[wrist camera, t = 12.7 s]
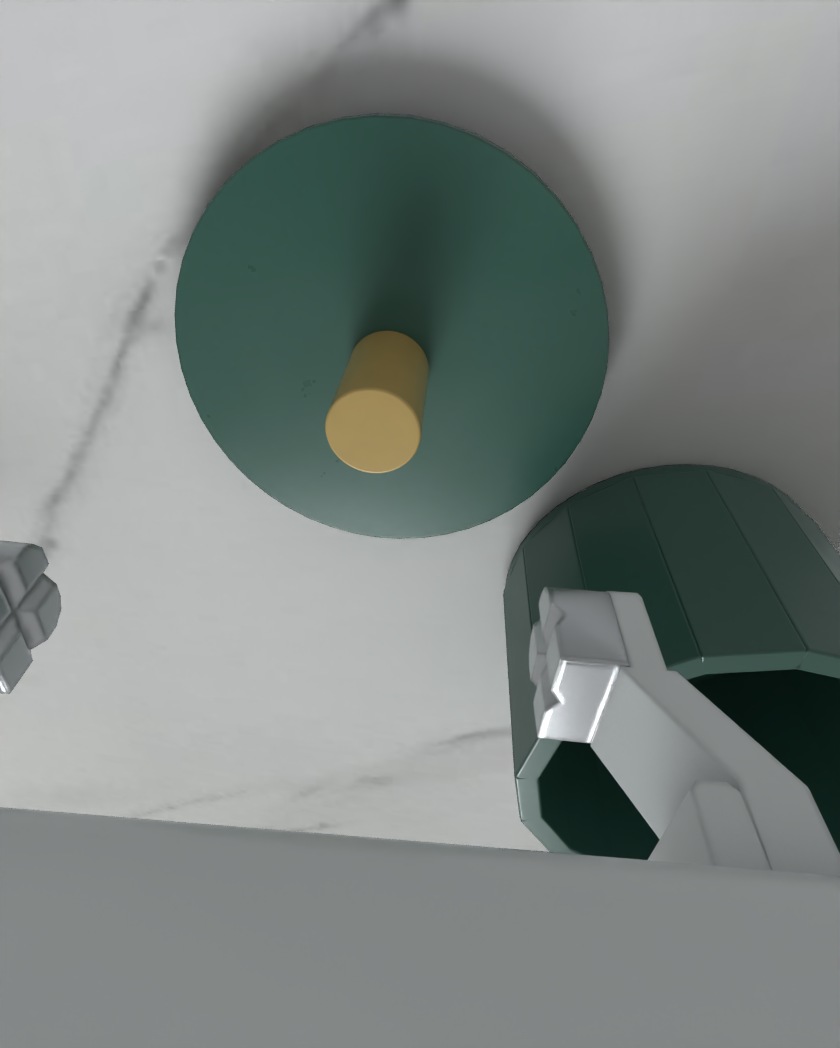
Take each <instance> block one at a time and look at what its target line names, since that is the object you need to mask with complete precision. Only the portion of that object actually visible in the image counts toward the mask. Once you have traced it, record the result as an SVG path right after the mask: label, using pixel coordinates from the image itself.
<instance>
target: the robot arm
mask: <svg viewBox="0 0 840 1048" xmlns="http://www.w3.org/2000/svg"><path fill="white" fill-rule="evenodd" d="M48 564H49V563H48V560H47V558H46V556H45V553H44V551H43V549H42V547H39V546H37V545H34V544H29V543H19V542H10V541H0V693H1V694H10V693H11V691H12V690H13V688H14V687H15V686H16V684H17V683H18V681H19V680H20V678H21V677H22V676H23V674H24V673H25V671H26V670H27V668H28V667H29V666H30V664H31V663H32V661H33V660H32V655H31V649H32V648H34V647H36V646H38V645H39V644H41V643H43V642H45V641H46V640H48V638H49V637H50V635H51V634H52V632H53V631H54V629H55V628H56V626H57V622H58V619H59V615H60V612H61V596H60V593H59V590H58V587H57V584H56V583H54V582H53V581H52V580H51V579H50V578H49V577H47V576H46V575H45V574H44V571H45V569H46V568H47V566H48ZM538 605H539V612H540V619H539V620H538V621H537V622H535V623H534V624H533V629H532V633H531V638H530V647H529V671H530V680H531V681H532V682H533V683H534V684H535V686H536V687H537V689H536V693H535V697H534V701H533V706H534V714H535V722H536V730H537V738H545V739H554V740H564V741H573V742H582V743H591V748H592V749H593V750H594V752H595V753H596V754H597V756H598V757H599V758H600V760H601V761H602V762H603V764H604V765H605V766H606V768H607V769H608V770H609V772H610V773H611V775H612V776H613V777H614V779H615V780H616V781H617V783H618V784H619V785H620V787H621V788H622V789H623V791H624V792H625V793H626V795H627V796H628V797H629V799H630V800H631V801H632V803H633V804H634V806H635V807H636V808H637V810H638V811H639V812H640V814H641V815H642V816H643V818H644V819H645V820H646V822H647V823H648V824H649V826H650V827H651V828H652V830H653V831H654V832H655V834H656V835H657V837H658V838H659V839H660V840H659V842H658V843H657V845H656V847H655V848H654V850H653V852H652V853H651V855H650V857H649V858H648V860H640V859H628V858H616V857H604V856H592V855H579V854H567V853H555V852H543V851H531V850H518V849H506V848H494V847H482V846H470V845H457V844H445V843H433V842H420V841H408V840H396V839H383V838H371V837H359V836H346V835H334V834H322V833H309V832H297V831H285V830H272V829H260V828H247V827H235V826H223V825H211V824H198V823H186V822H174V821H162V820H150V819H138V818H125V817H113V816H101V815H89V814H77V813H65V812H52V811H40V810H28V809H16V808H4V807H0V1048H840V853H839V851H838V849H837V847H836V845H835V843H834V841H833V839H832V836H831V834H830V832H829V830H828V828H827V826H826V824H825V822H824V820H823V817H822V815H821V813H820V811H819V809H818V807H817V805H816V803H815V801H814V799H813V796H812V794H811V792H810V790H809V788H808V787H807V786H806V785H805V784H804V783H803V782H802V781H801V780H799V779H798V778H797V777H796V776H795V775H794V774H793V773H791V772H790V771H789V770H788V769H787V768H786V767H785V766H783V765H782V764H781V763H780V762H779V761H778V760H777V759H776V758H774V757H773V756H772V755H771V754H770V753H769V752H768V751H766V750H765V749H764V748H763V747H762V746H761V745H760V744H759V743H757V742H756V741H755V740H754V739H753V738H752V737H751V736H749V735H748V734H747V733H746V732H745V731H744V730H743V729H742V728H740V727H739V726H738V725H737V724H736V723H735V722H734V721H732V720H731V719H730V718H729V717H728V716H727V715H726V714H724V713H723V712H722V711H721V710H720V709H719V708H718V707H717V706H715V705H714V704H713V703H712V702H711V701H710V700H709V699H707V698H706V697H705V696H704V695H703V694H702V693H701V692H700V691H698V690H697V689H696V688H695V687H694V686H693V685H692V684H690V683H689V682H688V681H687V680H686V679H685V678H684V677H682V676H681V675H680V674H679V673H678V672H677V671H667V668H666V665H665V663H664V660H663V657H662V654H661V651H660V648H659V645H658V642H657V639H656V637H655V634H654V631H653V628H652V625H651V622H650V619H649V616H648V614H647V611H646V608H645V605H644V602H643V599H642V597H641V596H640V595H639V594H638V593H631V592H616V591H606V592H604V591H595V590H582V589H568V588H555V587H544V589H543V591H542V593H541V597H540V600H539V604H538Z"/></svg>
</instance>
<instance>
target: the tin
mask: <svg viewBox="0 0 840 1048" xmlns="http://www.w3.org/2000/svg"><path fill="white" fill-rule="evenodd" d="M544 587H555V588H568V589H582V590H595V591H604V592H606V591H616V592H631V593H638V594H639V595H640V596H641V597H642V599H643V602H644V605H645V608H646V611H647V614H648V616H649V619H650V622H651V625H652V628H653V631H654V634H655V637H656V639H657V642H658V645H659V648H660V651H661V654H662V657H663V660H664V663H665V665H666V668H667V671H677V672H678V673H679V674H680V675H681V676H682V677H684V678H685V679H686V680H687V681H688V682H689V683H690V684H692V685H693V686H694V687H695V688H696V689H697V690H698V691H700V692H701V693H702V694H703V695H704V696H705V697H706V698H707V699H709V700H710V701H711V702H712V703H713V704H714V705H715V706H717V707H718V708H719V709H720V710H721V711H722V712H723V713H724V714H726V715H727V716H728V717H729V718H730V719H731V720H732V721H734V722H735V723H736V724H737V725H738V726H739V727H740V728H742V729H743V730H744V731H745V732H746V733H747V734H748V735H749V736H751V737H752V738H753V739H754V740H755V741H756V742H757V743H759V744H760V745H761V746H762V747H763V748H764V749H765V750H766V751H768V752H769V753H770V754H771V755H772V756H773V757H774V758H776V759H777V760H778V761H779V762H780V763H781V764H782V765H783V766H785V767H786V768H787V769H788V770H789V771H790V772H791V773H793V774H794V775H795V776H796V777H797V778H798V779H799V780H801V781H802V782H803V783H804V784H805V785H806V786H807V787H808V788H809V790H810V792H811V794H812V796H813V799H814V801H815V803H816V805H817V807H818V809H819V811H820V813H821V815H822V817H823V820H824V822H825V824H826V826H827V828H828V830H829V832H830V834H831V836H832V839H833V841H834V843H835V845H836V847H837V849H838V851H839V853H840V555H839V554H838V552H837V551H836V550H835V548H834V547H833V546H832V544H831V543H830V542H829V540H828V539H827V537H826V536H825V535H824V533H823V532H822V531H821V529H820V528H819V527H818V525H817V524H816V523H815V521H814V520H813V519H811V518H810V517H809V516H808V515H806V514H805V513H804V512H803V511H802V510H801V508H800V507H799V506H798V505H797V504H796V503H795V502H794V501H793V500H791V499H790V498H789V497H788V496H787V495H786V494H784V493H783V492H781V491H780V490H778V489H777V488H775V487H774V486H773V485H771V484H769V483H766V482H764V481H762V480H760V479H758V478H756V477H754V476H751V475H747V474H744V473H741V472H738V471H735V470H731V469H725V468H720V467H714V466H704V465H668V466H659V467H653V468H646V469H641V470H637V471H633V472H629V473H625V474H622V475H618V476H615V477H613V478H610V479H607V480H605V481H602V482H599V483H597V484H595V485H593V486H591V487H589V488H587V489H585V490H583V491H581V492H579V493H577V494H575V495H574V496H572V497H571V498H569V499H568V500H566V501H565V502H563V503H561V504H560V505H559V506H557V507H556V508H555V509H554V510H552V511H551V512H550V513H549V514H548V515H546V516H545V517H544V518H543V519H542V520H541V521H540V522H539V523H538V524H537V525H536V526H535V527H534V528H533V530H532V531H531V532H530V533H529V534H528V536H527V537H526V539H525V540H524V541H523V543H522V544H521V546H520V547H519V549H518V551H517V553H516V555H515V557H514V559H513V560H512V563H511V566H510V569H509V572H508V575H507V579H506V586H505V589H504V594H503V598H504V614H505V630H506V646H507V662H508V679H509V695H510V711H511V727H512V743H513V760H514V776H515V784H516V792H517V799H518V807H519V815H520V818H521V822H522V823H523V824H524V825H525V826H526V827H527V828H528V829H529V830H530V831H531V832H532V833H533V834H534V836H535V837H536V838H537V839H538V840H539V841H540V842H541V843H542V844H543V845H544V846H545V847H546V848H547V850H548V851H549V852H555V853H567V854H579V855H592V856H604V857H616V858H628V859H640V860H648V858H649V857H650V855H651V853H652V852H653V850H654V848H655V847H656V845H657V843H658V842H659V840H660V839H659V838H658V837H657V835H656V834H655V832H654V831H653V830H652V828H651V827H650V826H649V824H648V823H647V822H646V820H645V819H644V818H643V816H642V815H641V814H640V812H639V811H638V810H637V808H636V807H635V806H634V804H633V803H632V801H631V800H630V799H629V797H628V796H627V795H626V793H625V792H624V791H623V789H622V788H621V787H620V785H619V784H618V783H617V781H616V780H615V779H614V777H613V776H612V775H611V773H610V772H609V770H608V769H607V768H606V766H605V765H604V764H603V762H602V761H601V760H600V758H599V757H598V756H597V754H596V753H595V752H594V750H593V749H592V748H591V743H582V742H573V741H564V740H554V739H545V738H537V730H536V722H535V714H534V706H533V701H534V697H535V693H536V689H537V687H536V686H535V684H534V683H533V682H532V681H531V680H530V671H529V647H530V638H531V633H532V629H533V624H534V623H535V622H537V621H538V620H539V619H540V612H539V605H538V604H539V600H540V597H541V593H542V591H543V589H544Z"/></svg>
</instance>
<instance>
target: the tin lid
mask: <svg viewBox="0 0 840 1048" xmlns="http://www.w3.org/2000/svg"><path fill="white" fill-rule="evenodd" d="M175 328H176V343H177V348H178V354H179V359H180V364H181V369H182V372H183V375H184V378H185V381H186V384H187V387H188V390H189V393H190V396H191V398H192V400H193V402H194V405H195V407H196V409H197V411H198V413H199V415H200V417H201V419H202V421H203V422H204V424H205V426H206V427H207V429H208V430H209V432H210V434H211V435H212V437H213V439H214V440H215V441H216V443H217V444H218V445H219V447H220V448H221V449H222V450H223V452H224V453H225V454H226V455H227V457H228V458H229V459H230V460H231V461H232V462H233V463H234V464H235V465H236V467H237V468H238V469H239V470H240V471H241V472H242V473H243V474H244V475H245V476H246V477H247V478H248V479H250V480H251V481H252V482H253V483H255V484H256V485H257V486H258V487H259V488H261V489H262V490H263V491H264V492H266V493H267V494H268V495H270V496H271V497H273V498H274V499H276V500H277V501H279V502H280V503H282V504H283V505H285V506H286V507H288V508H290V509H292V510H294V511H296V512H298V513H300V514H302V515H304V516H306V517H308V518H310V519H312V520H315V521H317V522H320V523H322V524H325V525H328V526H330V527H333V528H337V529H341V530H344V531H348V532H351V533H356V534H362V535H368V536H373V537H384V538H398V539H402V538H424V537H431V536H438V535H445V534H449V533H453V532H457V531H461V530H465V529H469V528H471V527H474V526H477V525H479V524H482V523H484V522H487V521H490V520H492V519H494V518H496V517H498V516H500V515H502V514H503V513H505V512H507V511H509V510H511V509H513V508H514V507H516V506H517V505H519V504H520V503H522V502H523V501H525V500H526V499H528V498H529V497H531V496H532V495H533V494H534V493H535V492H536V491H538V490H539V489H540V488H541V487H542V486H543V485H545V484H546V483H547V482H548V481H549V480H550V479H551V478H552V477H553V476H554V475H555V474H556V472H557V471H558V470H559V469H560V468H561V467H562V466H563V465H564V464H565V462H566V461H567V460H568V458H569V457H570V455H571V454H572V453H573V451H574V450H575V448H576V447H577V445H578V444H579V443H580V441H581V439H582V437H583V435H584V433H585V431H586V430H587V428H588V426H589V424H590V422H591V420H592V418H593V415H594V412H595V410H596V407H597V404H598V401H599V399H600V396H601V393H602V388H603V384H604V379H605V375H606V370H607V361H608V349H609V327H608V311H607V306H606V301H605V296H604V291H603V286H602V281H601V278H600V275H599V273H598V270H597V267H596V264H595V261H594V258H593V256H592V253H591V251H590V249H589V247H588V245H587V243H586V241H585V239H584V237H583V235H582V234H581V232H580V230H579V228H578V226H577V224H576V222H575V221H574V219H573V218H572V217H571V215H570V214H569V213H568V211H567V210H566V208H565V207H564V206H563V204H562V203H561V202H560V200H559V199H558V197H557V196H556V195H555V194H554V193H553V191H552V190H551V189H550V188H549V187H548V186H547V185H546V184H545V183H544V182H543V181H542V180H541V179H540V178H539V177H538V176H537V175H536V174H535V173H534V172H533V171H532V170H531V169H529V168H528V167H527V166H525V165H524V164H523V163H522V162H520V161H519V160H518V159H516V158H515V157H514V156H512V155H511V154H510V153H508V152H507V151H506V150H504V149H502V148H501V147H499V146H497V145H495V144H493V143H491V142H490V141H488V140H486V139H484V138H482V137H481V136H479V135H477V134H475V133H472V132H469V131H467V130H464V129H461V128H459V127H456V126H453V125H451V124H448V123H445V122H441V121H436V120H432V119H427V118H422V117H417V116H412V115H397V114H367V115H358V116H349V117H342V118H338V119H334V120H331V121H327V122H323V123H320V124H316V125H312V126H310V127H307V128H305V129H303V130H301V131H298V132H296V133H294V134H292V135H290V136H287V137H285V138H283V139H281V140H279V141H277V142H275V143H274V144H272V145H271V146H269V147H268V148H266V149H265V150H263V151H262V152H260V153H259V154H257V155H256V156H254V157H253V158H251V159H250V160H249V161H248V162H247V163H245V164H244V165H243V166H242V167H241V168H240V169H239V170H238V171H237V172H236V173H235V174H234V175H232V176H231V177H230V178H229V179H228V180H227V181H226V182H225V184H224V185H223V186H222V188H221V189H220V190H219V191H218V193H217V194H216V195H215V196H214V198H213V199H212V200H211V202H210V203H209V204H208V206H207V207H206V209H205V211H204V213H203V214H202V216H201V218H200V220H199V222H198V223H197V225H196V227H195V229H194V230H193V233H192V236H191V238H190V241H189V243H188V246H187V249H186V251H185V254H184V257H183V260H182V265H181V269H180V274H179V278H178V283H177V289H176V303H175Z"/></svg>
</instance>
